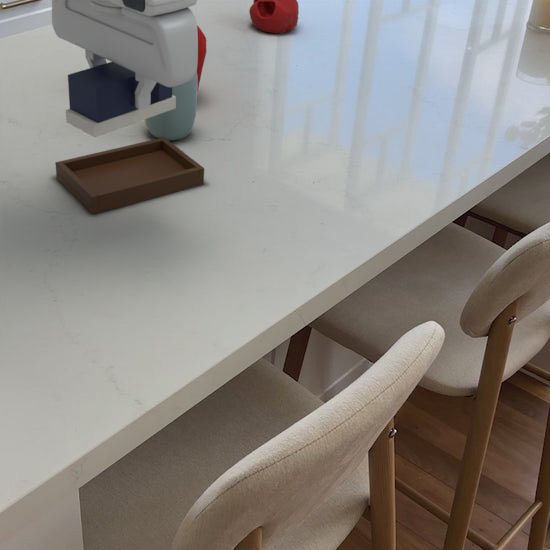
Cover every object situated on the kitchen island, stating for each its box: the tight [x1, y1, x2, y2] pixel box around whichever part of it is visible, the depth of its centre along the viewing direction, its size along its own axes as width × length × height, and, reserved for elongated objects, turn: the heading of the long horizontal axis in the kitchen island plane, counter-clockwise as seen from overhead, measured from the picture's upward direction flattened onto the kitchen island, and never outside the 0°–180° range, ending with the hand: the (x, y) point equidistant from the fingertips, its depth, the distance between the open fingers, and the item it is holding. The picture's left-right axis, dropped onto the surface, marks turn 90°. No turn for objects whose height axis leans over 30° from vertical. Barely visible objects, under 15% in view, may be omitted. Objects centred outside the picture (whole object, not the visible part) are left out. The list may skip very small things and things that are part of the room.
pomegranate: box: [248, 0, 300, 34], centre depth 173 cm, size 10×10×9 cm
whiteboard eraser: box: [65, 61, 176, 138], centre depth 100 cm, size 12×5×6 cm, turn 139°
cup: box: [144, 71, 198, 142], centre depth 130 cm, size 8×8×10 cm
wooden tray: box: [55, 137, 205, 215], centre depth 119 cm, size 17×11×2 cm, turn 127°
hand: (122, 97), depth 100 cm, fingers closed on whiteboard eraser, 5 cm apart
